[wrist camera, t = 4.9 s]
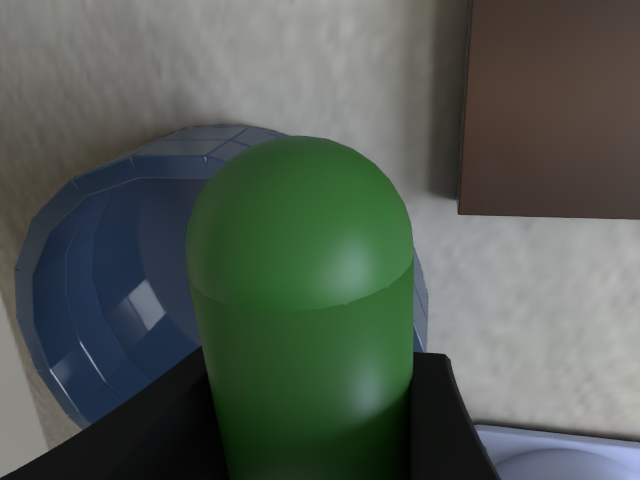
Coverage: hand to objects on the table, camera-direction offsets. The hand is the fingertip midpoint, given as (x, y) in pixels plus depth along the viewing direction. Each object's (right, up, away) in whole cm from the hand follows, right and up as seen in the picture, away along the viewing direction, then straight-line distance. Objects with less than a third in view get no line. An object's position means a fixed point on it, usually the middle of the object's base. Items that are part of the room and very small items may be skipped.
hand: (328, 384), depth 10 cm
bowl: (-3, +1, +10) cm, 11 cm away
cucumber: (0, 0, +1) cm, 1 cm away
